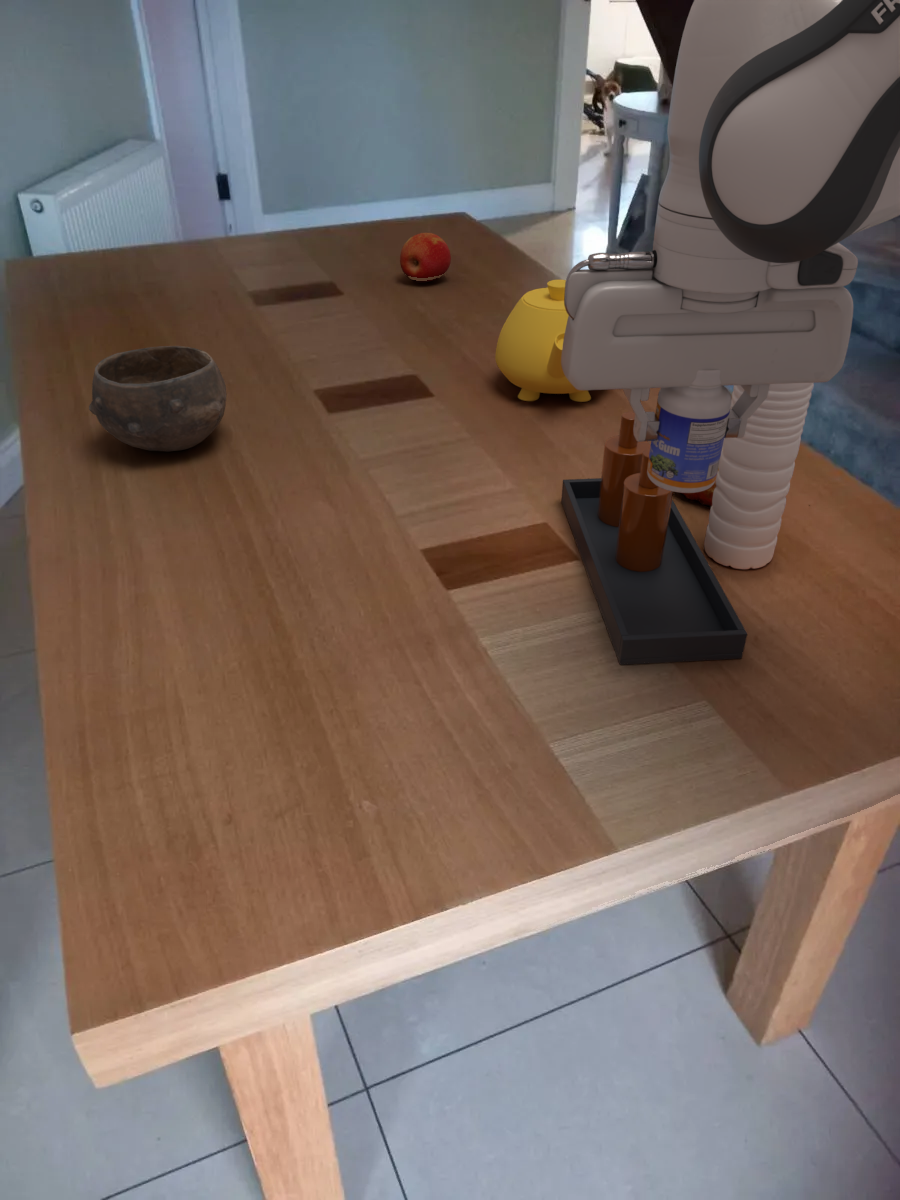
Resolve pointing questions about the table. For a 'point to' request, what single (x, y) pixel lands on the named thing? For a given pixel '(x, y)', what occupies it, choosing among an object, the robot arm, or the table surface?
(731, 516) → the water bottle
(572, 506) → the tray
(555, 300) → the teapot
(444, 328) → the table surface
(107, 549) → the table surface
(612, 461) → the amber bottle
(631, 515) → the amber bottle
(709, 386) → the pill bottle
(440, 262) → the apple
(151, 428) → the bowl
